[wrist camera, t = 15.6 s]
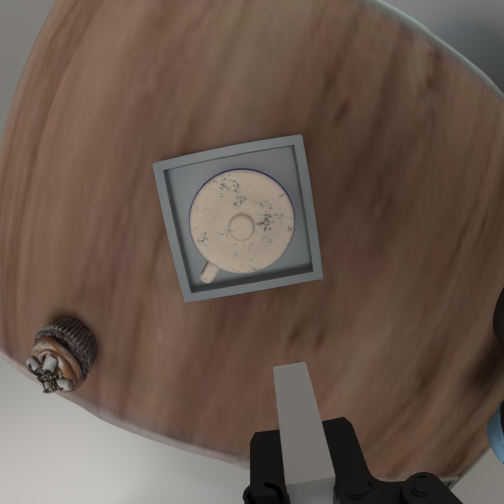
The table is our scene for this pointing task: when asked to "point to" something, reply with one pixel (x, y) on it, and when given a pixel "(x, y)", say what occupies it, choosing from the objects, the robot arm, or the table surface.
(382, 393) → the table surface
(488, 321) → the table surface
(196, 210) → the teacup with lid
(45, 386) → the cupcake
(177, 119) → the table surface
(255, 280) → the square tray
